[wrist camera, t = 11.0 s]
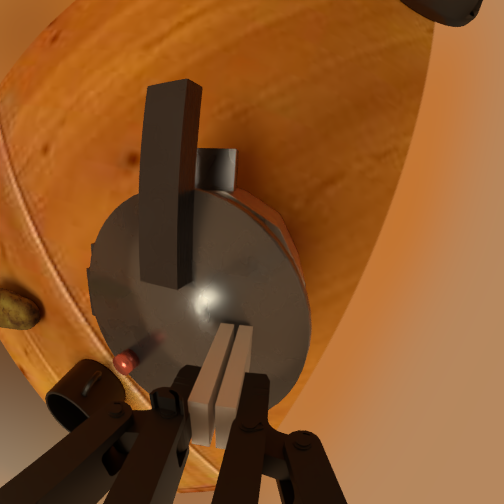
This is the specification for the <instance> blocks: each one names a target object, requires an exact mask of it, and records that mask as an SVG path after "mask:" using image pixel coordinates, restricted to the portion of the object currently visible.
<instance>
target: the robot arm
mask: <svg viewBox="0 0 504 504" xmlns="http://www.w3.org/2000/svg"><path fill="white" fill-rule="evenodd" d="M401 1H402V2H403V3H405V4H406V5H407V6H409V7H410V8H412V9H413V10H415V11H416V12H418V13H419V14H421V15H423V16H425V17H427V18H429V19H431V20H433V21H435V22H438V23H440V24H443V25H447V26H452V27H461V26H464V25H466V24H468V23H469V22H470V21H471V20H473V19H474V18H475V17H476V16H477V14H478V11H479V9H480V7H481V4H482V1H483V0H401ZM252 333H253V326H244V325H239V328H238V331H237V334H236V338H235V341H234V324H226V323H221V324H220V326H219V328H218V331H217V333H216V335H215V338H214V340H213V342H212V345H211V347H210V349H209V352H208V354H207V356H206V359H205V361H204V363H203V366H202V367H200V366H193V365H188V364H187V365H185V366H184V367H183V368H181V369H180V370H179V372H178V374H177V376H176V378H175V379H174V381H173V383H172V385H171V387H160V388H157V389H154V390H153V391H152V392H151V393H150V394H149V395H150V400H151V405H152V409H151V410H144V411H143V410H132V409H131V407H130V405H128V404H127V403H125V402H122V401H111V402H108V403H106V404H105V405H103V406H102V407H101V408H100V409H99V410H97V411H96V412H95V413H94V414H92V415H91V416H90V417H89V418H88V419H86V420H85V421H84V422H83V423H82V424H80V425H79V426H78V427H77V428H75V429H74V430H73V431H72V432H71V433H69V434H68V435H67V436H66V437H64V438H63V439H62V440H61V441H59V442H58V443H57V444H56V445H54V446H53V447H52V448H51V449H50V450H48V451H47V452H46V453H45V454H43V455H42V456H41V457H39V458H38V459H37V460H36V461H35V462H33V463H32V464H31V465H29V466H28V467H27V468H26V469H24V470H23V471H22V472H20V473H19V474H18V475H17V476H15V477H14V478H13V479H12V480H10V481H9V482H7V483H6V484H5V485H4V486H2V487H1V488H0V504H97V502H98V501H99V500H100V499H101V498H102V497H103V496H104V495H105V494H106V493H107V492H108V491H109V490H110V491H109V493H108V495H107V497H106V499H105V501H104V503H103V504H173V501H174V498H175V495H176V491H177V488H178V485H179V482H180V479H181V476H182V473H183V470H184V467H185V464H186V461H187V457H188V454H189V442H190V439H192V444H197V445H203V446H208V447H210V444H211V440H212V437H213V433H214V429H216V448H221V449H225V453H224V457H223V461H222V464H221V468H220V472H219V476H218V480H217V484H216V488H215V491H214V495H213V499H212V503H211V504H258V499H259V491H260V484H261V475H262V474H263V475H266V476H269V477H272V478H275V479H276V482H277V486H278V490H279V494H280V498H281V502H282V504H347V502H346V499H345V497H344V495H343V492H342V490H341V488H340V486H339V483H338V481H337V479H336V476H335V474H334V471H333V469H332V467H331V464H330V462H329V460H328V457H327V455H326V453H325V451H324V448H323V446H322V443H321V441H320V439H319V438H318V437H317V436H316V435H315V434H313V433H312V432H309V431H300V430H298V431H295V432H292V433H290V434H289V435H288V434H284V433H281V432H278V431H276V430H275V429H273V428H272V427H271V426H270V425H269V422H268V418H267V417H268V405H269V392H270V380H269V378H268V376H267V374H259V373H250V372H249V368H250V359H251V346H252ZM233 344H234V345H233Z"/></svg>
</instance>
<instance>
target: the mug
mask: <svg viewBox="0 0 504 504" xmlns="http://www.w3.org/2000/svg"><path fill="white" fill-rule="evenodd" d="M45 400H46V404H47V407H48V409H49V411H50V412H51V414H52V415H53V417H54V418H55V419H56V420H57V422H58V423H59V424H60V425H61V426H63V428H65V429H66V430H67V431H68V432H70V433H71V432H72V431H73V430H74V429H75V428H77V427H78V426H79V425H80V424H82V423H83V422H84V421H85V420H86V419H88V418H89V417H90V416H91V415H92V414H94V413H95V412H96V411H97V410H99V409H100V408H101V407H102V406H103V405H105V404H106V403H108V402H111V401H122V402H124V401H125V392H124V389H123V387H122V385H121V383H120V382H119V380H118V379H117V378H116V376H115V375H114V374H113V373H112V372H111V371H110V370H108V369H107V368H106V367H104V366H103V365H101V364H100V363H98V362H95V361H92V360H82V361H79V362H78V363H77V364H76V365H75V366H74V367H73V368H72V369H71V370H70V371H69V372H68V373H67V374H66V375H65V376H64V377H63V378H62V379H61V380H60V381H59V382H58V383H57V384H56V385H55V386H54V387H53V388H52V389H51V390H50V391H49V392H48V393H47V394H46V397H45Z"/></svg>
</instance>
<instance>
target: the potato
mask: <svg viewBox="0 0 504 504" xmlns="http://www.w3.org/2000/svg"><path fill="white" fill-rule="evenodd" d="M39 320H40V311H39V309H38V307H37V305H36V304H35V303H34V302H33V301H32V300H30V299H28V298H23V297H22V296H20V295H18V294H17V293H15V292H12V291H10V290H7V289H3V288H0V327H2V328H9V329H17V330H28V329H31V328H32V327H34V326H35V325H36V324H37V323H38V322H39Z"/></svg>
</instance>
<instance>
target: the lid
mask: <svg viewBox="0 0 504 504" xmlns="http://www.w3.org/2000/svg"><path fill="white" fill-rule="evenodd" d="M201 97H202V87H201V86H200V85H198V84H196V83H194V82H193V81H191V80H189V79H182V80H176V81H171V82H166V83H161V84H156V85H151V86H148V88H147V95H146V103H145V112H144V121H143V131H142V143H141V157H140V175H139V194H137V195H134V196H132V197H131V198H129V199H128V200H126V201H125V202H123V203H122V204H121V205H120V206H119V207H117V208H116V209H115V210H114V211H113V212H112V214H111V215H110V216H109V217H108V219H107V220H106V221H105V223H104V225H103V226H102V228H101V230H100V232H99V234H98V236H97V239H96V241H95V244H94V248H93V252H92V256H91V263H90V267H89V268H87V278H88V287H89V294H90V302H91V308H92V315H94V316H96V319H97V322H98V325H99V327H100V330H101V332H102V334H103V336H104V338H105V341H106V343H107V344H108V346H109V348H110V350H111V351H112V353H113V355H114V356H115V357H114V358H113V364H114V366H115V368H116V369H117V371H118V372H120V373H121V374H123V375H127V374H129V375H130V376H131V377H132V378H133V379H134V380H135V381H136V382H137V383H138V384H139V385H140V386H141V387H142V388H144V389H145V390H146V391H147V392H148V393H151V392H152V391H153V390H154V389H157V388H160V387H171V385H172V383H173V381H174V379H175V378H176V376H177V374H178V372H179V370H180V369H181V368H183V367H184V366H185V365H187V364H188V365H193V366H200V367H202V366H203V363H204V361H205V359H206V356H207V354H208V352H209V349H210V347H211V345H212V342H213V340H214V338H215V335H216V333H217V331H218V328H219V326H220V324H221V323H226V324H234V341H235V338H236V334H237V331H238V328H239V325H244V326H253V333H252V346H251V359H250V368H249V372H250V373H259V374H267V376H268V378H269V380H270V392H269V405H268V410H269V409H270V408H272V407H273V406H275V405H276V404H278V403H279V402H280V401H281V400H282V399H283V398H284V397H285V396H286V395H287V394H288V393H289V392H290V390H291V389H292V388H293V386H294V385H295V383H296V382H297V380H298V378H299V376H300V374H301V372H302V369H303V367H304V364H305V361H306V357H307V353H308V350H309V346H310V338H311V311H310V306H309V301H308V296H307V292H306V289H305V286H304V283H303V281H302V278H301V275H300V273H299V271H298V269H297V267H296V265H295V263H294V261H293V259H292V257H291V256H290V254H289V253H288V251H287V250H286V248H285V247H284V246H283V244H282V243H281V241H280V240H279V239H278V237H277V236H276V235H275V234H274V233H273V232H272V231H271V230H270V229H269V228H268V226H267V225H266V224H265V223H264V222H262V221H261V220H260V219H259V218H258V217H256V216H255V215H254V214H253V213H252V212H250V211H249V210H248V209H246V208H244V207H243V206H241V205H240V204H238V203H237V202H235V201H233V200H231V199H229V198H227V197H224V196H222V195H220V194H218V193H215V192H211V191H208V190H204V189H201V188H195V173H196V157H197V142H198V130H199V118H200V107H201ZM233 345H234V344H233Z"/></svg>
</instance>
